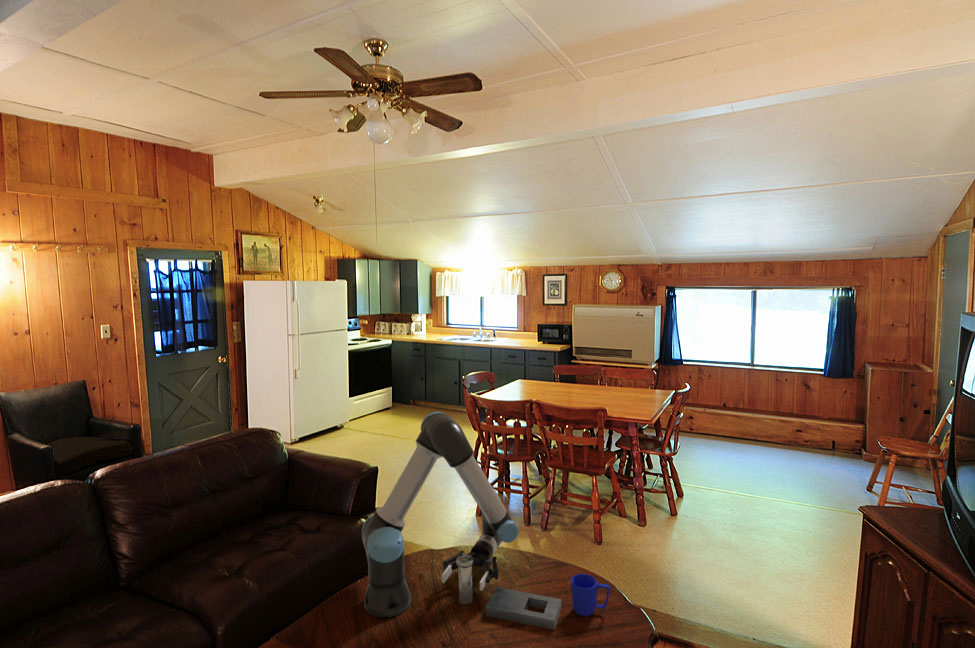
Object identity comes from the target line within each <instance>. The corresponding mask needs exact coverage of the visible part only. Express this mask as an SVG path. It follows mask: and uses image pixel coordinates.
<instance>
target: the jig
mask: <svg viewBox="0 0 975 648" xmlns="http://www.w3.org/2000/svg"><path fill="white" fill-rule="evenodd" d="M530 607H531V608H536V609H541V610H544V612H540V611H539V612H538V611H532V610H529V608H530ZM561 612H562V598H558V597H557V598H555V597H553V596H546V595H541V594H535V593H530V592H525V591H519V590H514V589H508V588H505V587H498V586H496V587H495V589H494V591H493V593H492V595H491V596H490V598H489V600H488V602H487V604H486V605H485V616H486V617H490V618H495V619H498V620H505V621H509V622H513V623H519V624H523V625H524V624H525V625H529V626H534V627H537V628H538V627H539V628H543V629H547V630H552V631H556V630H555V629H556V626H557V623H558V620H559V617H560V614H561Z"/></svg>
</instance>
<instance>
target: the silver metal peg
mask: <svg viewBox="0 0 975 648" xmlns="http://www.w3.org/2000/svg"><path fill="white" fill-rule="evenodd" d="M456 564H457V566H458V569H457V570H458V598H459V599H458V600H459V601H458V602H459V603H460V604H462V605H469V604H471V603H472V602H473V571H472V569H473V568H472V567H473V566H472V565H473V557H471V556H468V555H463V556H460V557H458V558H457V559H456Z"/></svg>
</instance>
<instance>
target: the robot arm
mask: <svg viewBox="0 0 975 648" xmlns="http://www.w3.org/2000/svg"><path fill="white" fill-rule="evenodd" d="M415 444H416V448H415V450H414V451H413V453H412V455H411V456H410V459H408V460H409V461H408V462H407V464H406V466H405V467H404V469H403V471H402V472H401V475H400V476H399V478H398V479H397V481H396V483H395V485H394V486H393V489H392V490H391V492H390V494H389V496H388V497H387V499H386V500H385V503H384V504H383V505H382V506H381V507H378V508H377V509H375V511H374V513H373V514H371V515H370V516H368V518H366V520H365V521H364V522H363V525H362V528H361V540H362V544H363V547H364V549H365V554H366V559H367V567H368V569H367V571H368V584H367V589H366V592H365V595H364V599H363V607H364V608H365V609H364V611H365V610H366V611H367V612H368V613H369V614H371V615H373V616H376V617H375V618H377V617H388V618H393V617H396V616H398V615H400V614H402V613H404V612H405V611H406V610H407V609H408V608H409V607H410V606H411V602H412V596H411V590H410V588H409V587H408V586H409V585H408V584H407V583H408V582H407V580H406V577H405V576H406V574H405V541H404V536H403V533H402V531H403V530H404V529H405V528H404V527H405V526H406V521H405V517H406V516H407V513H408V512H409V510H410V508H411V507H412V505H413V503H414V501H415V499H416V497H417V496H418V494H419V492H420V490H421V489H422V487H423V485H424V484H425V482H426V480H427V478H428V476H429V475H430V473H431V471H432V469H433V468H434V466H435V465H436V462H437V460H438V459H440V458H443V459H444V460H445V461H446V463H447V464H448V465H449V467H450V468H452V469H454V470H455V471H456V473H457V474H458V476H459V478H460V479H461V480H462V482H463V484H464V485H465V487H466V488H467V490H468V492H469V493H470V495H471V496H472V498H473V500H474V501H475V503H476V504H477V506H478V507H479V510H481V527H482V528H481V529H482V531H481V532H482V533H481V535H480V537H479V538H478V539H477V540H476V542H475V543H474V545H473V546H472V548H470V552H469V553H465V552H464V550H461V551H459V552H458V553H457V554H455V555H453V556H451V557H449V558H447V559H445V560H443V562H442V569H443V570H442V574H441V584H445V583H446V581H447V580H448V579H449V577H450V576H451V574H452V572H453V571H454V570H458V566H457V564H456V559H457V558H458V557H460V556H463V555H468V556H471V557H473V565H472V567H478V568H479V567H480V569H482V571H484V575H483V576H482V578H481V579H480V581H479V591H483V590H484V588H485V587H486V585H487V584H489V583H490V582H491V581H492V580H493V579H495V580H498V579H499V568H498V561H497V560H498V559H497V558H498V557H497V556H493V555H494V554H495V553H496V552H497V549H498V548H499V546H500V545H501V544H502V543H505V544H507V543H508V544H509V543H512V542H513V541H515V540H516V539H517V538H518V536H519V532H520V529H519V526H518V525H517V523H516V521H515V520H513V519H512V517H511V515H510V513H509V512H508V511H507V509H506V507H505V506H504V504H503V502H502V499H501V497H500V496H498V494H497V492H496V491H495V489H494V488H493V485H492V484H491V483H490V481H489V480H488V477H487V476H486V474H485V473H484V471H483V470H482V468H481V466H480V465H479V463H478V461H477V460H476V458H475V457H474V453H475V451H474V448H472V446H471V443H470V442H469V440H468V438H467V436H466V435H465V433H464V431H463V429H462V426H460V424H459V423H458V422H456V420H454V419H453V418H452V416H450V415H448V414H446V413H444V412H443V411H442V412H441V411H434V412H431V413H429V414H428V415H426V416H425V417H424V418H423V420H422V422H421V423H420V433H419V434H418V436H417V438H416V439H415ZM489 563H490V565H491V566H492V568H491V567H490V565H489ZM366 611H365V612H366ZM367 612H366V613H367ZM368 613H367V614H368ZM369 614H368V615H369ZM371 615H370V616H371ZM395 615H396V616H395ZM373 616H372V617H373ZM392 616H393V617H392Z"/></svg>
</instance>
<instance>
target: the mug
mask: <svg viewBox="0 0 975 648" xmlns="http://www.w3.org/2000/svg"><path fill="white" fill-rule="evenodd" d="M570 587H571V588H570V589H571V598H572V608H573V611H574V612H575V613H576V614H577V615H579V616H581V617H589V616H591V615H593V614H594V613H595V610H596V608H598V609H601V610H603V609H605V608H606V607H607V606H608V603H609V600H610V599H609V597H610V589H611V588H610V585H609V584H604V583H598V581H597V579H596V578H595V577H594V576H592V575H590V574H586V573H577V574H575V575H573V576H571V578H570ZM602 588H603V589H606V598H605V601H604V603H603V604H598V603H597V599H598V591H599V589H602Z"/></svg>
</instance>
